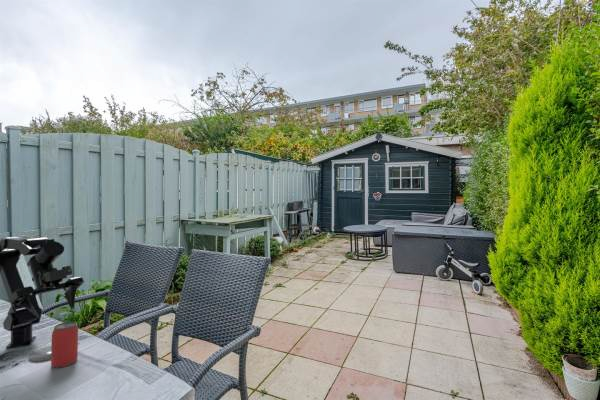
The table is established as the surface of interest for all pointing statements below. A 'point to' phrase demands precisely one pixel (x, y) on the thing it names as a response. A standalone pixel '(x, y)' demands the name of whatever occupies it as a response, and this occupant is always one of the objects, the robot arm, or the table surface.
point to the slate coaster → (41, 354)
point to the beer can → (64, 344)
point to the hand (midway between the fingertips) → (57, 312)
